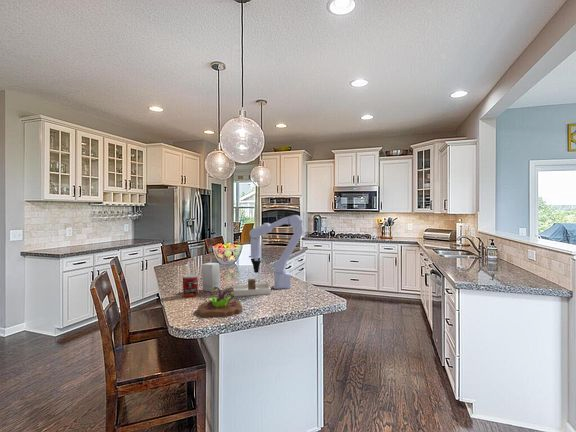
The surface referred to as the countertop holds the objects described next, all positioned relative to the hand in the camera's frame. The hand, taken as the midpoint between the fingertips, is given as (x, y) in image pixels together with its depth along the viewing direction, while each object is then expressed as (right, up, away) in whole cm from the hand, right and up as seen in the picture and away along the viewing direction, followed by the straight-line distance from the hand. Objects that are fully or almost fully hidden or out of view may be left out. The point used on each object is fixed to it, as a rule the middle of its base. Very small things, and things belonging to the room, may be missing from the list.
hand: (256, 271), depth 186 cm
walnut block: (-1, -9, -11) cm, 14 cm away
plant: (-12, -11, -44) cm, 47 cm away
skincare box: (-25, -10, -6) cm, 28 cm away
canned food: (-34, -10, -17) cm, 39 cm away
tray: (-1, -10, -11) cm, 15 cm away
